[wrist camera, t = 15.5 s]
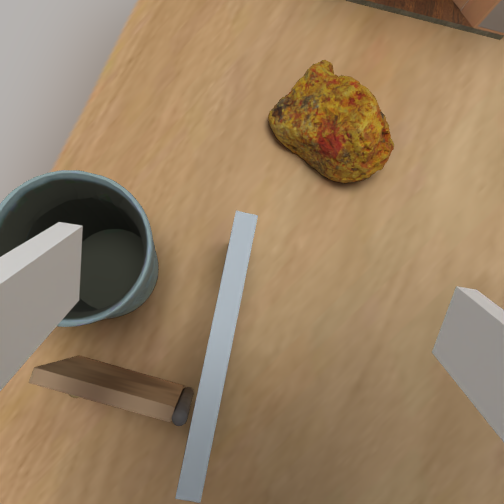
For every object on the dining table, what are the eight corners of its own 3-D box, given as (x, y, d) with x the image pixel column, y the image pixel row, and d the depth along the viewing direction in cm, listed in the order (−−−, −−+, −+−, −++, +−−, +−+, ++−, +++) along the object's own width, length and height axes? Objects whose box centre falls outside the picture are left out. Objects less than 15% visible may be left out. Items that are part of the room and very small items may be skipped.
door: (194, 388, 36) (189, 412, 27) (187, 414, 35) (178, 446, 26) (78, 355, 35) (32, 367, 26) (69, 381, 35) (19, 402, 26)
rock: (284, 183, 45) (248, 103, 38) (325, 135, 47) (297, 53, 41) (377, 201, 37) (351, 106, 30) (418, 143, 40) (403, 44, 33)
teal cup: (35, 252, 37) (-49, 220, 25) (133, 195, 38) (98, 140, 27) (93, 347, 36) (35, 361, 24) (191, 285, 38) (181, 268, 26)
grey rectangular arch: (204, 444, 35) (200, 502, 24) (187, 441, 35) (175, 498, 24) (244, 246, 39) (257, 215, 27) (229, 242, 39) (236, 210, 27)
